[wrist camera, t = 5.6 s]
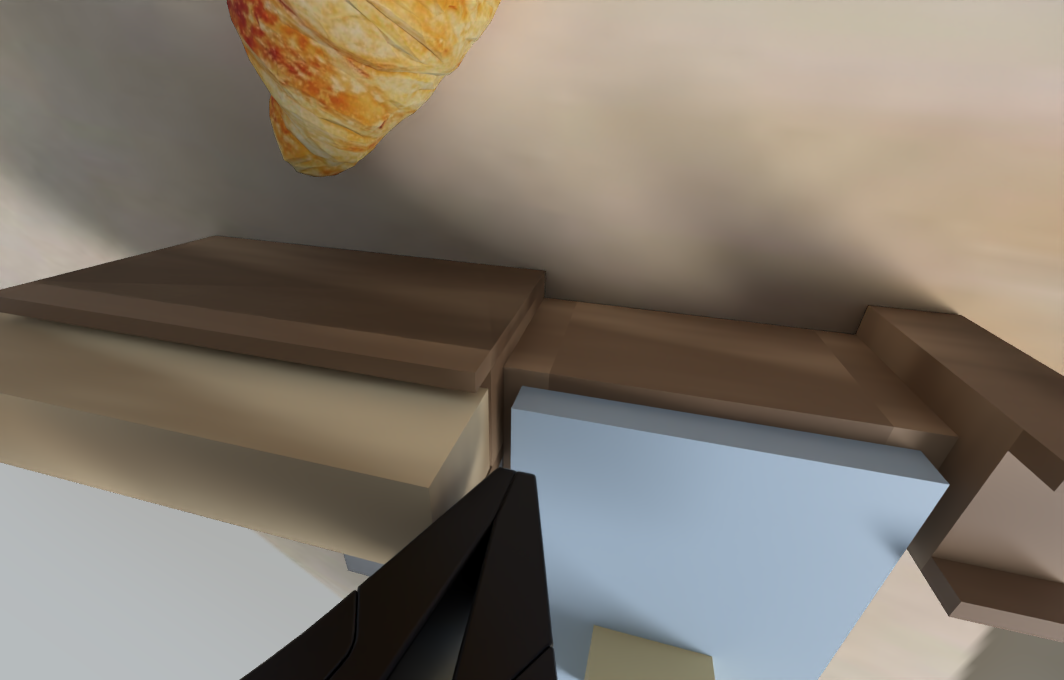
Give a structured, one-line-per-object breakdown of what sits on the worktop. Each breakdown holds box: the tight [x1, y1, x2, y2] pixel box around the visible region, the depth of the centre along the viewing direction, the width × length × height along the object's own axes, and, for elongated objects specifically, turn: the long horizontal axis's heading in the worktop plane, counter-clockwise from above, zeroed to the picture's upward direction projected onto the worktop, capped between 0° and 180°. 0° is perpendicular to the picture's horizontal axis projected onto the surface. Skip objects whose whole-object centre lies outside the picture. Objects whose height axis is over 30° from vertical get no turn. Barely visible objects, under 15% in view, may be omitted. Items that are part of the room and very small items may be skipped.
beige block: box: [0, 312, 490, 564], centre depth 9 cm, size 2×15×5 cm, turn 88°
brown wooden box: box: [0, 236, 1064, 642], centre depth 16 cm, size 17×26×7 cm, turn 88°
